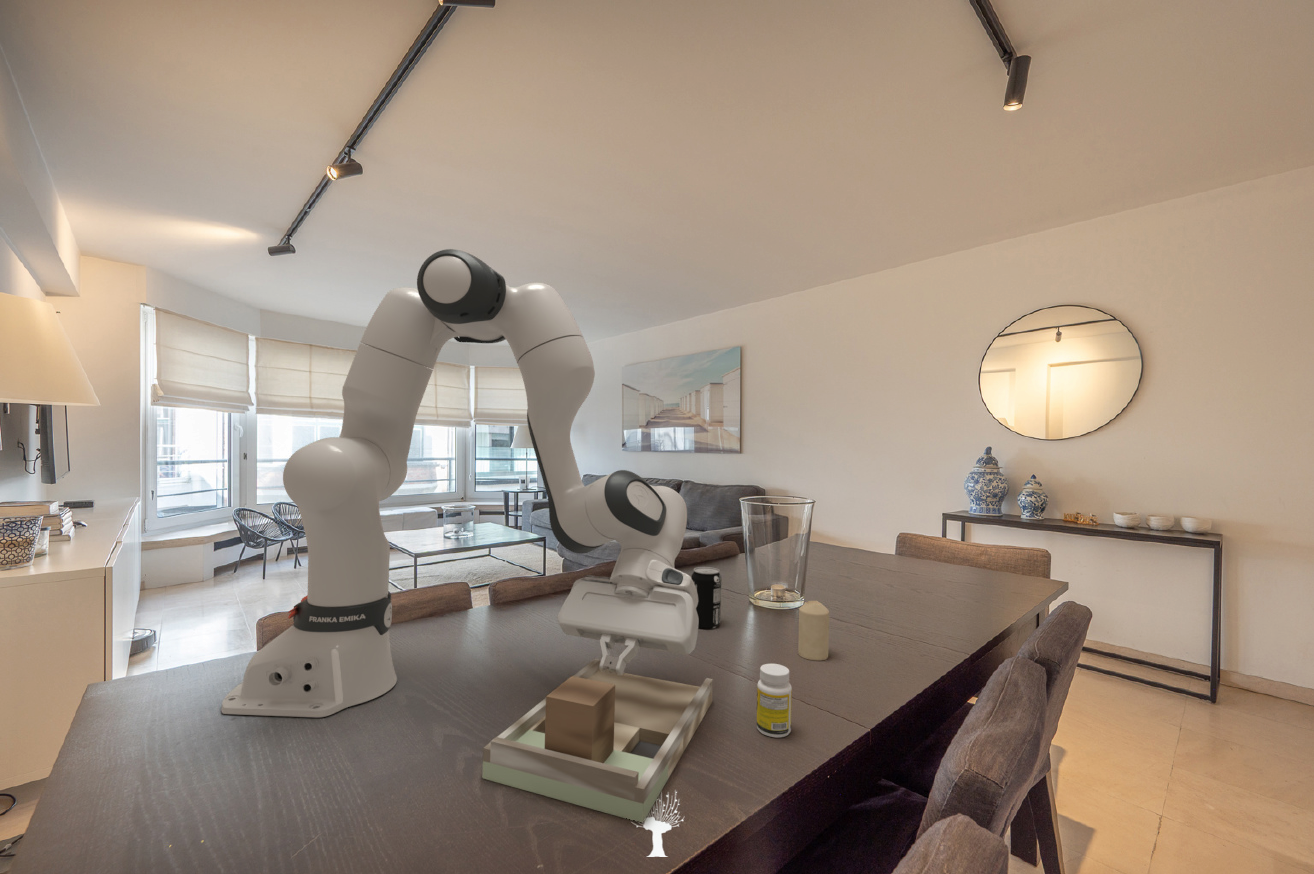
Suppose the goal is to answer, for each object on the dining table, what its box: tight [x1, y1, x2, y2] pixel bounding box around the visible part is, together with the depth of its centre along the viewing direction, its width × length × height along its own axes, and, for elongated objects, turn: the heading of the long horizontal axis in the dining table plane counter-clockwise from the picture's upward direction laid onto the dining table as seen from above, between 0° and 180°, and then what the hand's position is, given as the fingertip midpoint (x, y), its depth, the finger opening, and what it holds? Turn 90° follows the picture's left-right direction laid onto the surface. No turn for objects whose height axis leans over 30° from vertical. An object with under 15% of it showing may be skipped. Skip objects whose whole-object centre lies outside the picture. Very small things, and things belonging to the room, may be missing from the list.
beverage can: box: [690, 566, 723, 630], centre depth 121 cm, size 7×7×12 cm
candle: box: [797, 600, 830, 662], centre depth 105 cm, size 6×6×10 cm
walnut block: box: [545, 675, 615, 763], centre depth 65 cm, size 6×6×8 cm
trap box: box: [482, 658, 714, 804], centre depth 74 cm, size 29×20×4 cm
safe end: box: [481, 730, 669, 823], centre depth 64 cm, size 8×20×2 cm, turn 70°
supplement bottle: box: [756, 663, 793, 739], centre depth 77 cm, size 5×5×8 cm
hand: (610, 672), depth 73 cm, fingers closed
